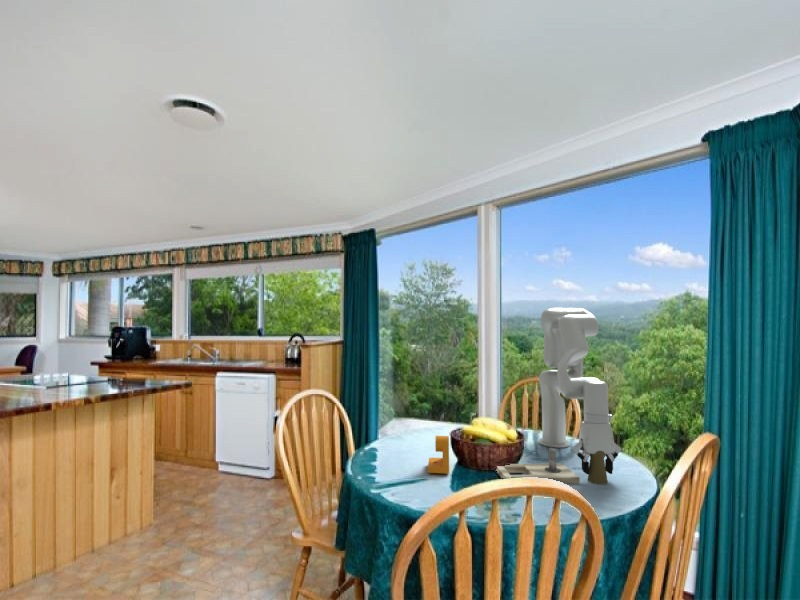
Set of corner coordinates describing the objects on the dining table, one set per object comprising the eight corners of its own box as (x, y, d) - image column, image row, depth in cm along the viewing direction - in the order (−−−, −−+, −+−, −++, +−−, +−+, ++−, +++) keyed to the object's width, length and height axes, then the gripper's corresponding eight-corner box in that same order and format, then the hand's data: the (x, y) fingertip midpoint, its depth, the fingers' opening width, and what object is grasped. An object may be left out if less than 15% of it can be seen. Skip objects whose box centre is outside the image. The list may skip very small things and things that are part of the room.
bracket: (429, 464, 158) (429, 431, 159) (448, 465, 157) (448, 432, 158) (427, 475, 147) (427, 439, 148) (449, 476, 147) (448, 440, 147)
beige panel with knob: (495, 470, 152) (494, 444, 153) (561, 468, 153) (561, 443, 154) (506, 484, 138) (506, 456, 139) (579, 483, 139) (579, 455, 140)
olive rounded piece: (610, 485, 138) (609, 450, 139) (590, 483, 139) (589, 449, 140) (604, 478, 144) (603, 445, 145) (585, 477, 145) (584, 444, 146)
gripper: (615, 415, 147) (616, 468, 146) (565, 416, 146) (566, 469, 145) (628, 420, 139) (629, 476, 138) (575, 421, 139) (576, 477, 138)
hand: (597, 472), depth 142 cm, fingers open, 7 cm apart
